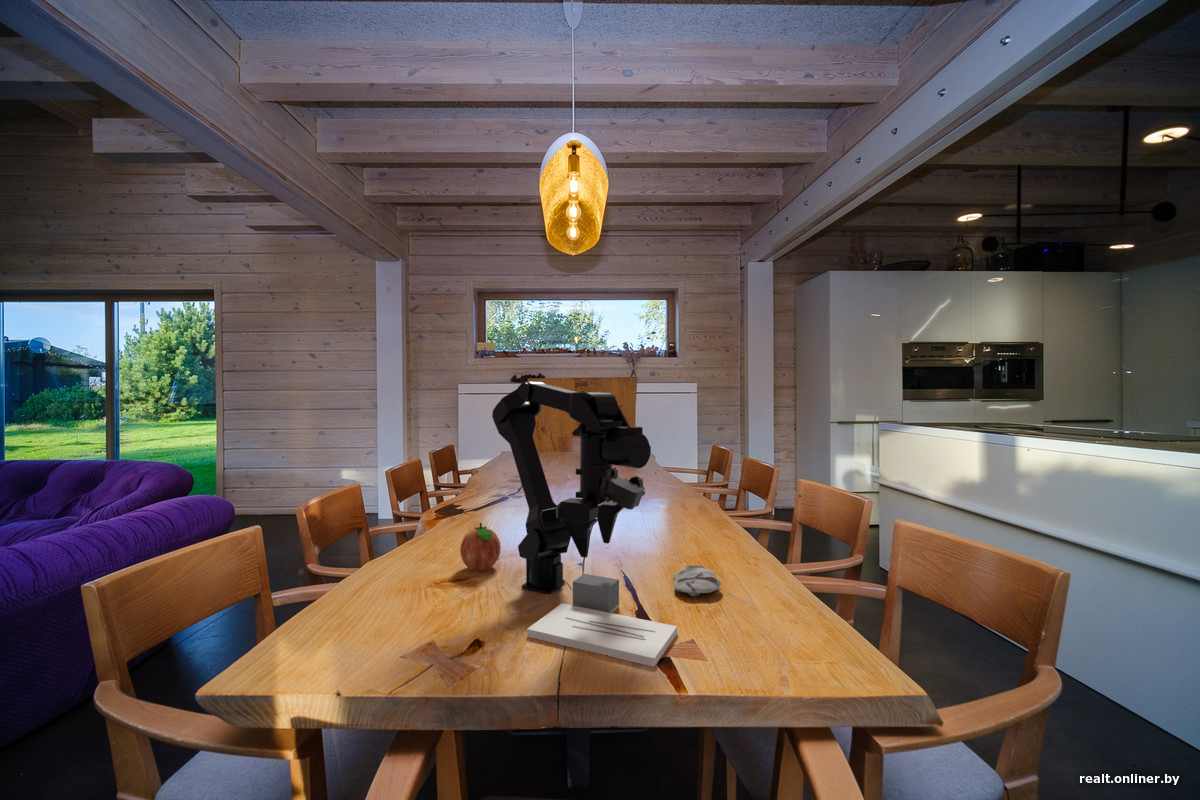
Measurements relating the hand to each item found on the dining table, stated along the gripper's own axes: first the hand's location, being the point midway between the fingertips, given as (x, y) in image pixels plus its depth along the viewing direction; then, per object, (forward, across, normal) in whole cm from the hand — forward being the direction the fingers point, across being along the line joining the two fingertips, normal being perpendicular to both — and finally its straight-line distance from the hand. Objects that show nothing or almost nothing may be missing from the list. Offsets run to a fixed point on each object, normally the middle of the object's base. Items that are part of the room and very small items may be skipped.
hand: (595, 549), depth 90 cm
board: (+10, -9, -6) cm, 15 cm away
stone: (+11, +17, -14) cm, 24 cm away
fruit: (+11, +8, +32) cm, 35 cm away
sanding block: (+10, 0, 0) cm, 11 cm away
